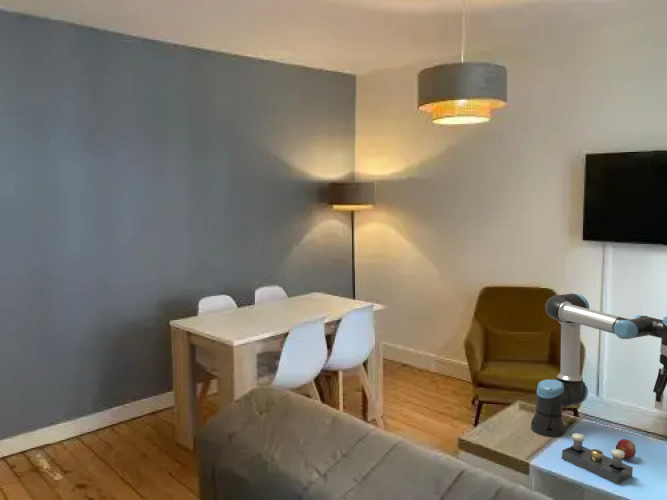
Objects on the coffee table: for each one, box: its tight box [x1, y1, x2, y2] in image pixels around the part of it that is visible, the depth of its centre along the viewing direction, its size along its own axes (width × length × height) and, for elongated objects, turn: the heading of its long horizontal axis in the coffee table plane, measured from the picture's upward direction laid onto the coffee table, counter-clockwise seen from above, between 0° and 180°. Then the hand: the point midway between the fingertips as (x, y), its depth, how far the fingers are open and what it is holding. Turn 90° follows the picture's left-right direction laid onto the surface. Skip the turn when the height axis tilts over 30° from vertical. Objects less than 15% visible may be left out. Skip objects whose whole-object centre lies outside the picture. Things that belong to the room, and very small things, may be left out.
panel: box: [561, 445, 634, 485], centre depth 226 cm, size 24×11×4 cm, turn 34°
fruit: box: [615, 438, 637, 460], centre depth 235 cm, size 8×8×8 cm
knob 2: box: [610, 448, 625, 468], centre depth 219 cm, size 5×5×6 cm
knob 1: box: [572, 432, 585, 451], centre depth 233 cm, size 5×5×6 cm
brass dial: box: [590, 448, 604, 461], centre depth 226 cm, size 4×4×3 cm
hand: (666, 405), depth 224 cm, fingers open, 13 cm apart
